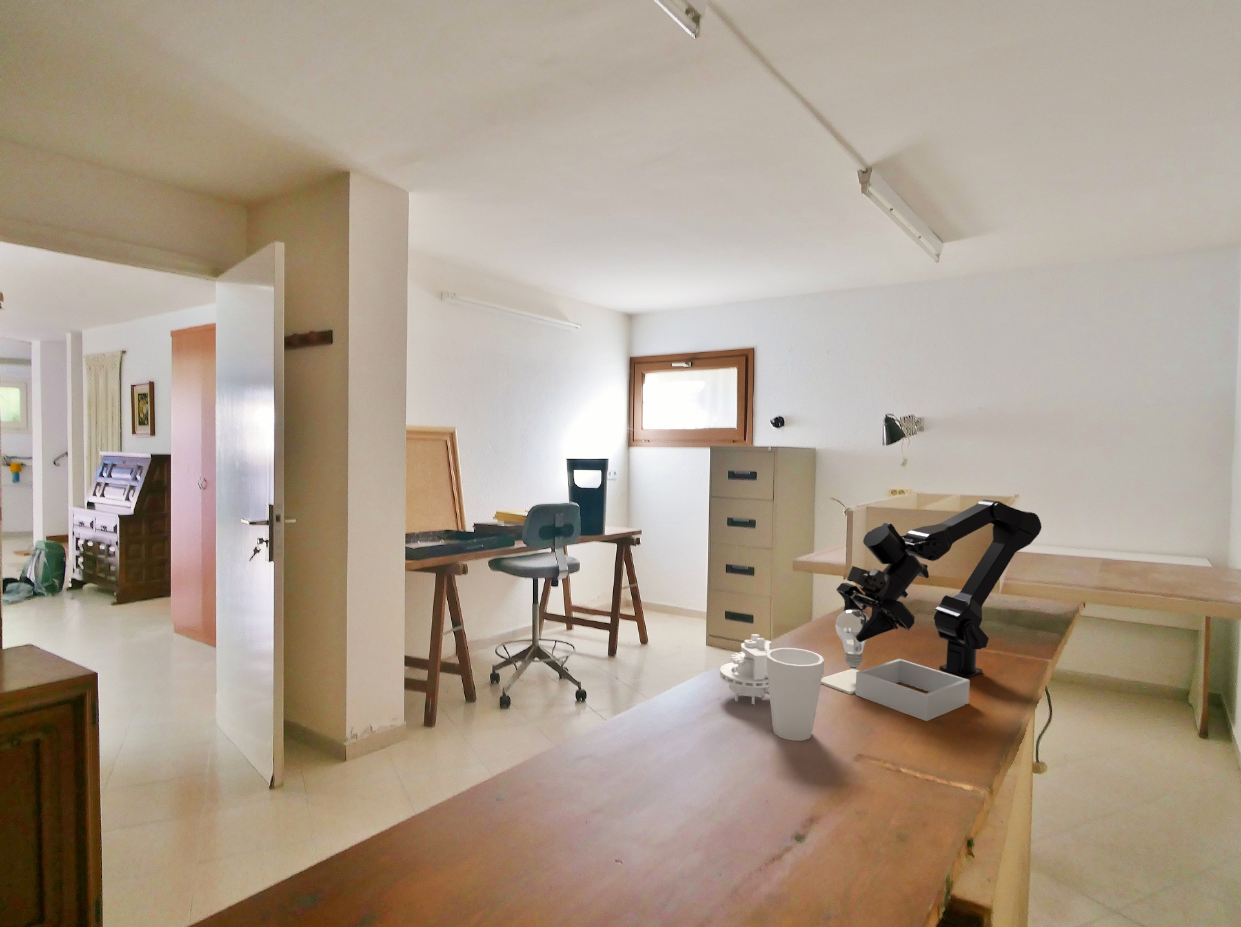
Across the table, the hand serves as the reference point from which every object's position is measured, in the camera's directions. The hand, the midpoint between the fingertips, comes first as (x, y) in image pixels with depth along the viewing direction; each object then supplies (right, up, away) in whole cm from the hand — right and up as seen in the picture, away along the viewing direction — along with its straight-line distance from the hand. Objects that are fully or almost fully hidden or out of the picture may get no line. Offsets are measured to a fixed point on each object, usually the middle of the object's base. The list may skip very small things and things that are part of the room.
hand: (848, 636), depth 141 cm
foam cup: (-17, -11, -24) cm, 31 cm away
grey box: (+10, -10, -8) cm, 16 cm away
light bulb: (+1, -7, +1) cm, 7 cm away
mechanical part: (-21, -10, -9) cm, 25 cm away
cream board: (+1, -10, +1) cm, 10 cm away
